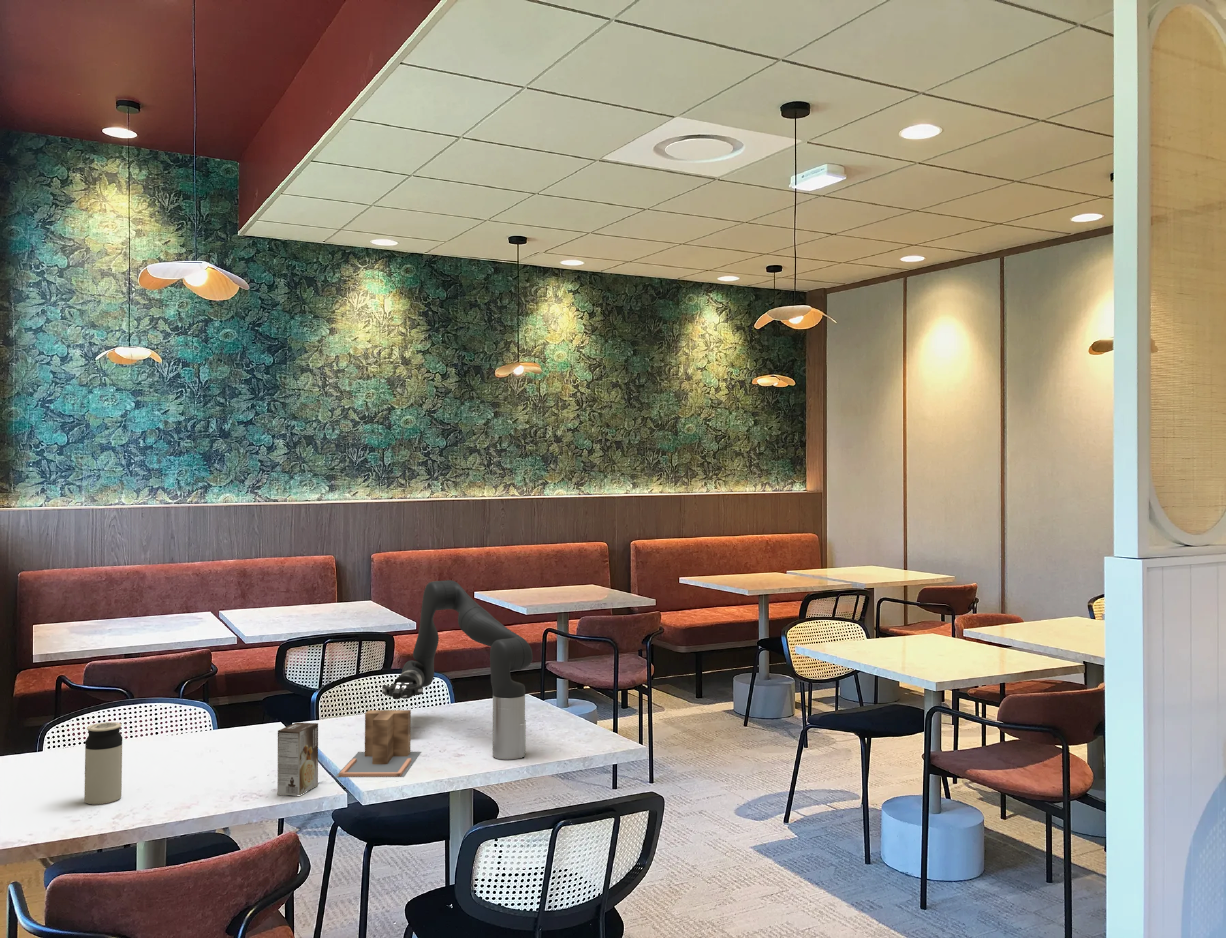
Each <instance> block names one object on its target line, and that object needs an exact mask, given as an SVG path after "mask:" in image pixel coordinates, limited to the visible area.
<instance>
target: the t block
mask: <svg viewBox="0 0 1226 938" xmlns="http://www.w3.org/2000/svg"><path fill="white" fill-rule="evenodd" d="M411 713H412V710H411V709H401V710H400V709H396V710H395V709H394V710H393V709H387V710H385V709H383V710H382V709H381V710H380V709H379V710H378V709H377V710H376V709H375V710H374V709H371V710H369V709H368V710H367V711H366V712H365V713H364V752H365V756H372V764H388V763H389V761H390V760H391V759H392V757H393V756H408V755H409V754H410V752H411V741H412V740H411V739H412V738H411V727H412V726H411V722H412V721H411V720H412V719H411V718H412V717H411V716H412V714H411Z"/></svg>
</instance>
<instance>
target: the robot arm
mask: <svg viewBox="0 0 1226 938" xmlns="http://www.w3.org/2000/svg"><path fill="white" fill-rule="evenodd" d="M424 588H425V589H424V591H423V596H422V602H421V603H422V604H421V610H420V621H419V629H418V633H417V637H416V641H415V644H414V645H415V646H414V648H413V651H412V657H413V659H414V660H408V661H407V662H405V664H404V665H403V666H402V670H401V673H400V674H399V675H398V677H396V678H395V680H394V682H393V683H392V684H390V685H386V684H382V689H381V691H382V694H383V695H385V696H388V697H390V698H393V699H394V700H400V699H402V700H403V699H404V700H406V699H407V700H408V699H411V698H413V697H415V696H419V695H423V693H424V692H423V691H424V688H427V687H429V686H430V685H431V684H432V683H433V681H434V677H435V655H436V652H437V650H438V649H437V648H438V645H439V640H440V637H439V631H438V630H437V627H436V625H435V622H434V616H435V613H436V611H442V610H453V611H456V612H457V613H458V615H457V622H458V626H459V628H460V630H461V631H462V632H463V633H464V634H465V635H466V636H467V637H468V638H470V639H471V640H472V641H474V642H476V643H479V644H482V645H484V646H488V647H490V650H489V666H490V684H491V687H492V688H491V690H492V757H493V758H494V757H495V758H494V759H498V760H516V759H523V758H522V757H524V758H525V756H526V753H527V751H526V750H527V748H526V747H527V746H526V739H527V738H526V737H527V735H526V732H527V730H526V729H527V725H526V722H527V720H526V686H525V684H524V683H521V682H519V681H515V680H513V679H512V677H511V672H515V671H521V670H524V669H526V668H528V667H529V666H530V665H531V663H532V661H533V657H534V656H533V650H532V647H531V646H530V644H529V642H528V641H527V640H526V639H525V638H523V636H520V635H519V634H517V633H515V632H514V631H512V630H510V629H509V628H507V627H506V626H505V625H504V624H502V623H501V622H500V621H499V620H498V619H496V618H495V617H494V616H493V615H492V614H491V613H490V612H489V611H487V610H486V609H485V608H484V607H482V606H481V605H479V603H477V602H476V600H475V599H473V598H472V597H471V596H470V595H469V594H468V593H467V592H466V590H465V589H464V588H463V587H462V586H461V585H460V583H458V582H457V581H454V580H452V579H451V580H450V579H449V580H447V579H446V580H435V581H434V580H433V581H430V582H428V583H427V584H426V586H425V587H424ZM525 752H526V753H525Z"/></svg>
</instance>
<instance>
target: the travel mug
mask: <svg viewBox="0 0 1226 938" xmlns="http://www.w3.org/2000/svg"><path fill="white" fill-rule="evenodd" d="M121 727H122V723H119V722H115V721H114V722H112V721H111V722H110V721H108V722H99V723H94V724H90V725H88V726H87V727H86V730H87V733H88V736H87V738H86V739H85V743H84V744H85V746H84V747H85V748H84V749H85V751H84V795H83V796H84V797H83V798H84V803H86V804H89V805H94V806H96V805H98V806H99V805H107V804H110V803H114V802H116V801H118V800H119V799H121V798H122V788H123V787H122V786H123V785H122V783H123V781H122V778H123V777H122V776H123V736H122V734H121V733H120V730H121Z"/></svg>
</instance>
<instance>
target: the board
mask: <svg viewBox="0 0 1226 938" xmlns="http://www.w3.org/2000/svg"><path fill="white" fill-rule="evenodd" d="M421 753H422V751H410V754H409V755H408V756H393V757H392V759H391V760H390V761H389V763H388V764H372V756H365V751H357V753H356V754H355V755H354V756H353V757H352V758H351V759H350V760H349V761H348V762H347V763H346V764H345V765H344V767H343V768H342V769H340V771H339V772H338V773H336V775H335V777H334V778H405V777H406V775H407V774H408V772H409V771H410V769H411V768H412V766H413V765H414V763H415V762H416V761H417V759H418V758H419V757H420V755H421Z"/></svg>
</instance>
